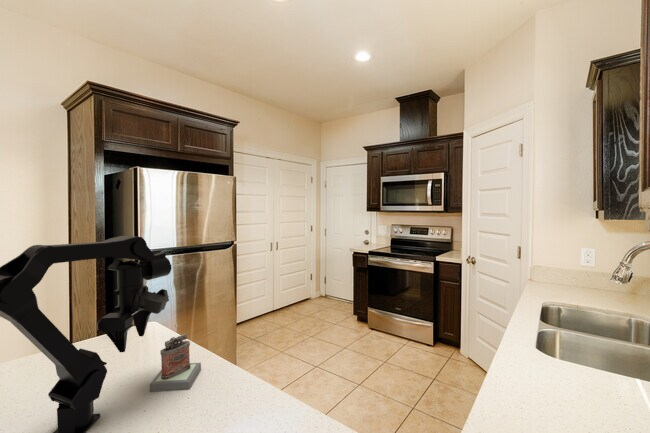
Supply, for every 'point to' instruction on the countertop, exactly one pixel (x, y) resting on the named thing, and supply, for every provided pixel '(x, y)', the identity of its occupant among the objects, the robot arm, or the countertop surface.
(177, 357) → the lighter
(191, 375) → the baseplate
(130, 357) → the countertop surface
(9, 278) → the robot arm
